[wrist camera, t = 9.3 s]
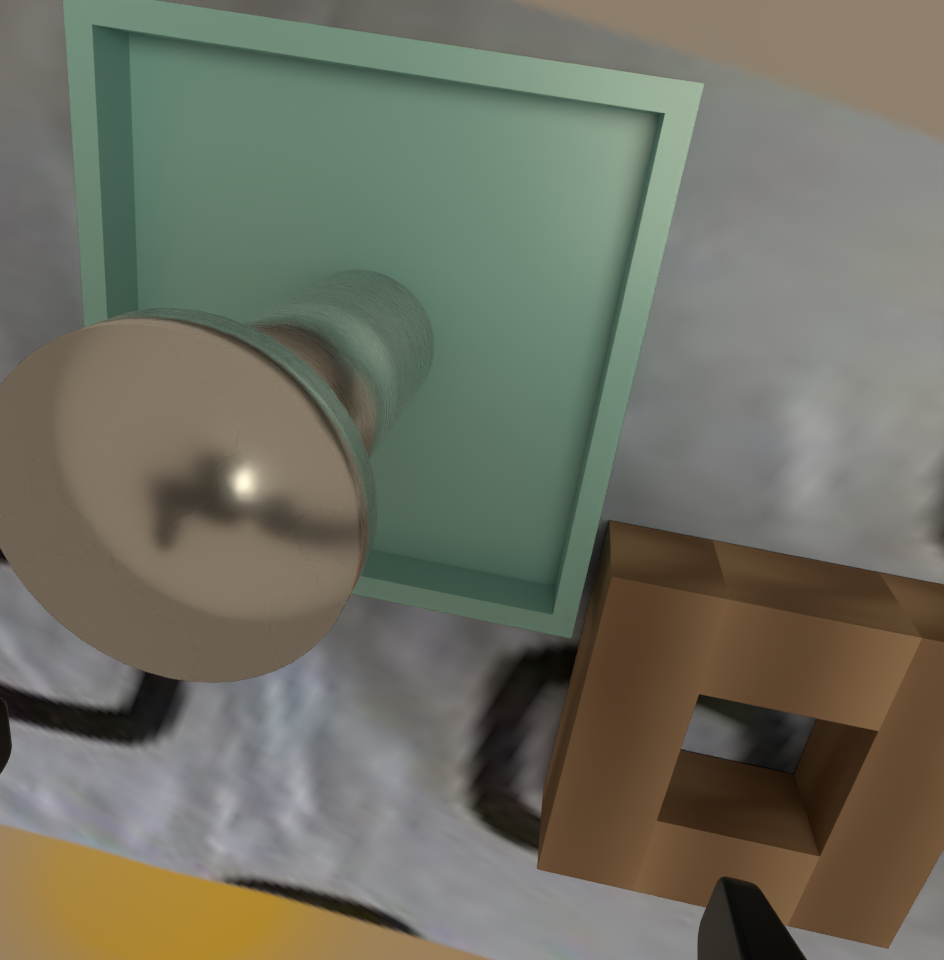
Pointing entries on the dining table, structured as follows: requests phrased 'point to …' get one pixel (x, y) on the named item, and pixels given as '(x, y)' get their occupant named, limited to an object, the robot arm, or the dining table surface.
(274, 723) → the dining table surface
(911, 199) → the dining table surface
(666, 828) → the block
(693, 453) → the dining table surface
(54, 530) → the steel pin
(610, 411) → the tray
